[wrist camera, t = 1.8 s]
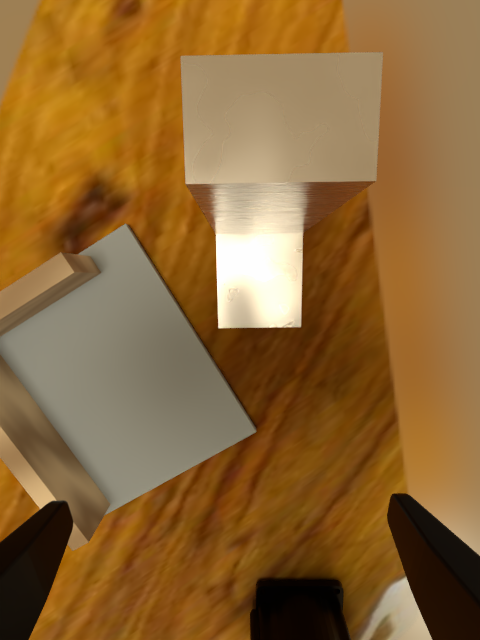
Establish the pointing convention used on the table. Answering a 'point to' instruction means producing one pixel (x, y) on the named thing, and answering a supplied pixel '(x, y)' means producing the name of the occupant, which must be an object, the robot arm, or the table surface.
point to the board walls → (28, 419)
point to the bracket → (275, 165)
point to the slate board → (125, 375)
